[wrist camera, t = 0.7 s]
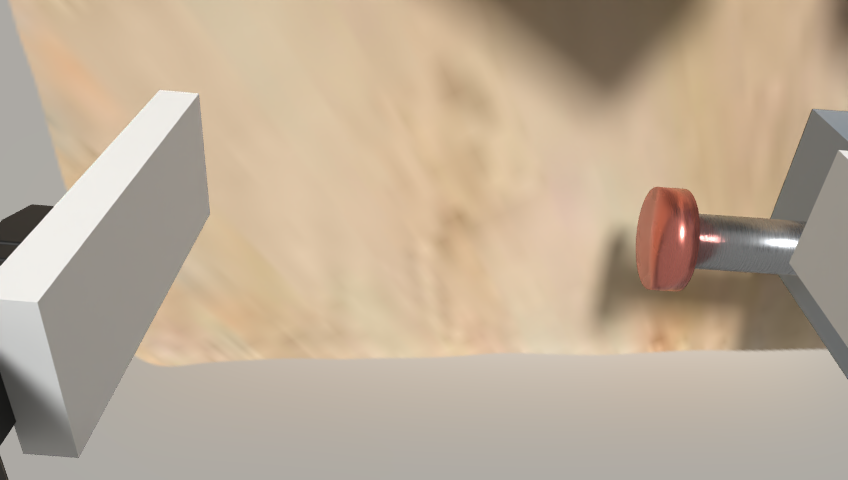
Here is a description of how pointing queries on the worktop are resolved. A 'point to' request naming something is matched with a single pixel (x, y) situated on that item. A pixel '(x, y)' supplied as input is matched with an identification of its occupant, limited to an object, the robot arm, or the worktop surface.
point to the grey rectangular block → (798, 200)
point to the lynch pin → (706, 241)
